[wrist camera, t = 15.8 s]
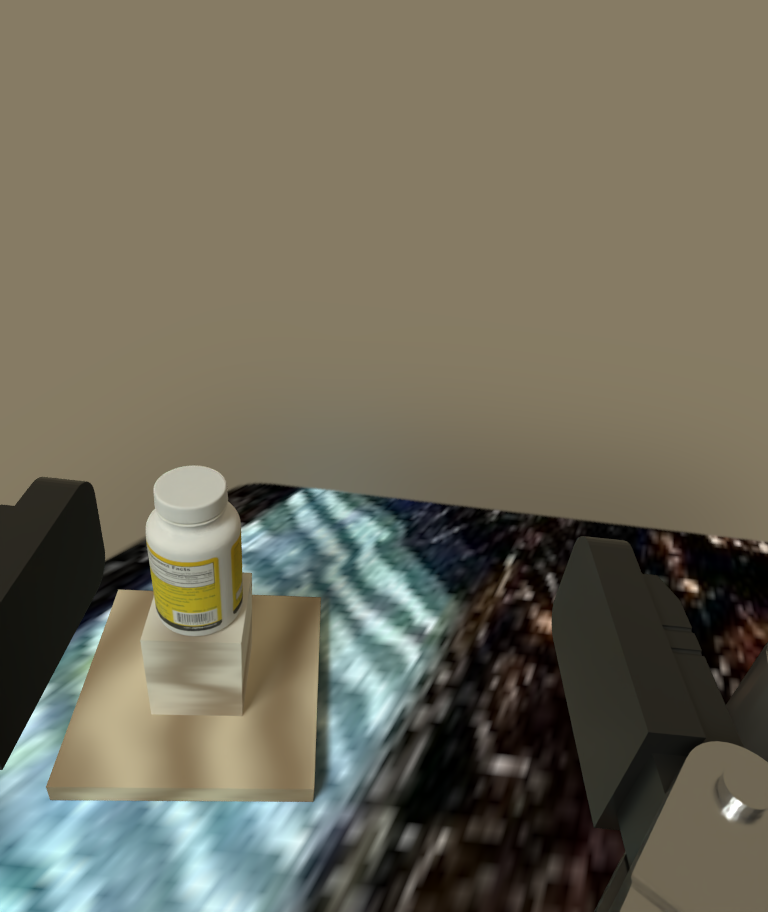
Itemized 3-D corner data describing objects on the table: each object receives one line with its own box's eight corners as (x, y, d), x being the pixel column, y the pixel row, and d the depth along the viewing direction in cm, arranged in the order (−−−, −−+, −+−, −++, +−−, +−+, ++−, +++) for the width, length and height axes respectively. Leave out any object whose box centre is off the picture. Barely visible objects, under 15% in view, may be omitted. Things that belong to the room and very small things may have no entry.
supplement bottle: (208, 564, 46) (201, 446, 41) (260, 607, 44) (261, 488, 38) (138, 604, 43) (120, 482, 37) (190, 654, 40) (179, 531, 35)
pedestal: (319, 610, 56) (326, 528, 51) (312, 801, 43) (320, 717, 38) (120, 602, 54) (106, 517, 49) (50, 799, 41) (21, 711, 36)
